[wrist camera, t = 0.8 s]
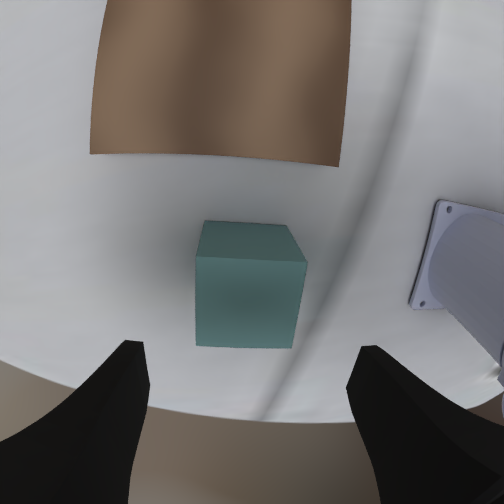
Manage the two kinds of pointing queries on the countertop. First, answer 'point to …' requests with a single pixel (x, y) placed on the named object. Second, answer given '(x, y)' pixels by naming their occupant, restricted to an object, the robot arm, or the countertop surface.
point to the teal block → (247, 285)
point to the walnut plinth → (223, 78)
